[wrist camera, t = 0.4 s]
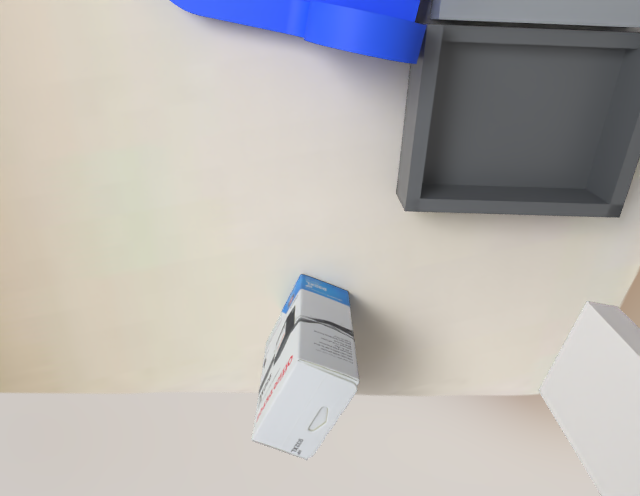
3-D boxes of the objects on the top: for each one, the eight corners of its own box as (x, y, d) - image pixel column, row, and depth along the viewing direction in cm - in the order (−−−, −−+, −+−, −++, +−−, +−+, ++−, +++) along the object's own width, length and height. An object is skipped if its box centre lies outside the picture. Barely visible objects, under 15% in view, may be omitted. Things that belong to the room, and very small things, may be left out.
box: (415, 23, 33) (427, 23, 29) (641, 32, 34) (680, 34, 30) (396, 193, 38) (404, 211, 35) (591, 199, 39) (619, 217, 35)
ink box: (300, 270, 42) (296, 357, 31) (351, 291, 42) (363, 382, 32) (263, 343, 45) (247, 443, 34) (310, 360, 46) (309, 463, 35)
